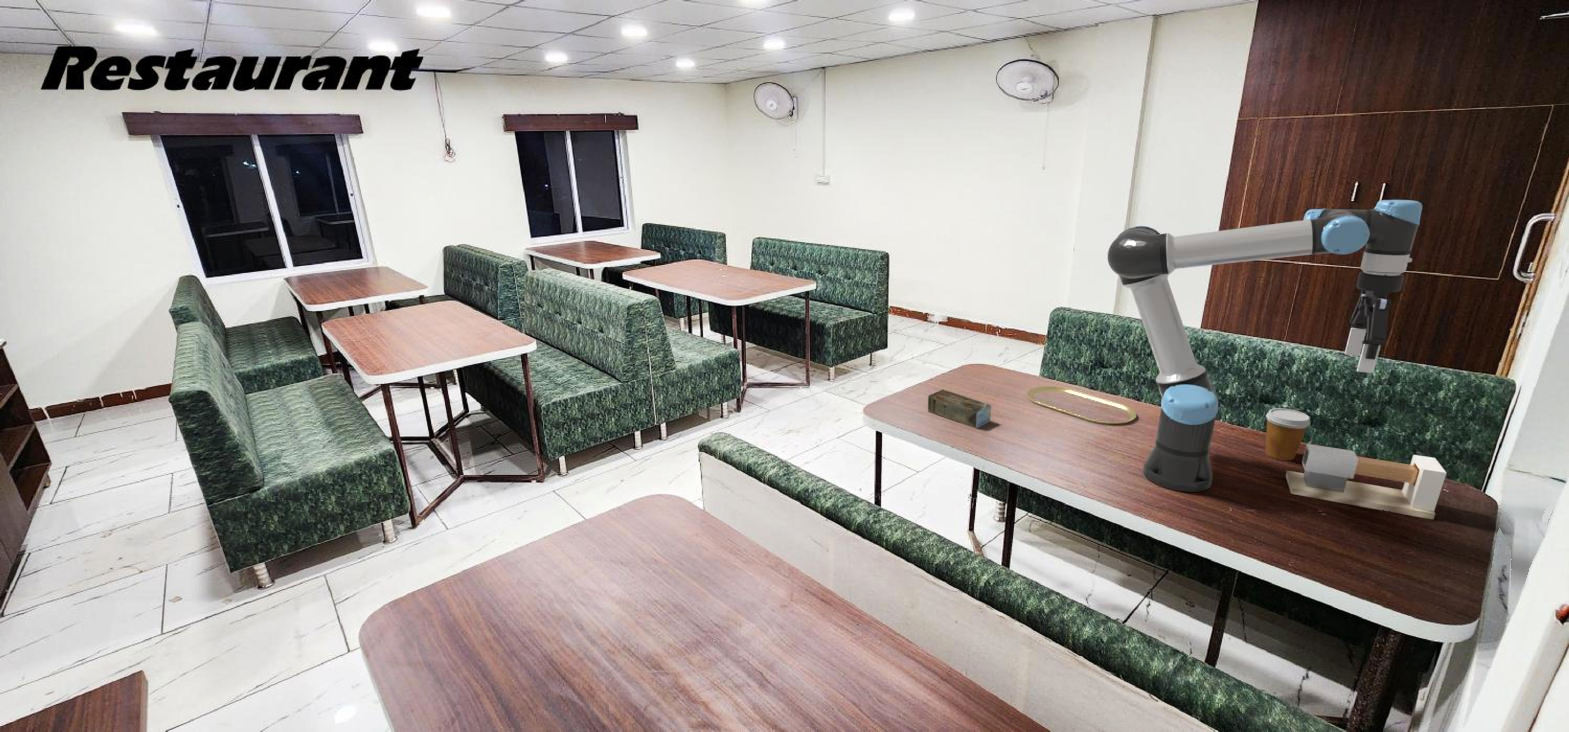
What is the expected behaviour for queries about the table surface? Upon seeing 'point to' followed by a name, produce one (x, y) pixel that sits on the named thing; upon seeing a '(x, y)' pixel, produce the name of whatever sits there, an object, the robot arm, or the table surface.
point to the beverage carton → (959, 408)
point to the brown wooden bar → (1387, 470)
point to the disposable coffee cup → (1285, 432)
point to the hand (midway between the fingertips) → (1358, 363)
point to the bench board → (1359, 496)
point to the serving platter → (1086, 396)
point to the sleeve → (1328, 467)
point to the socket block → (1425, 484)
